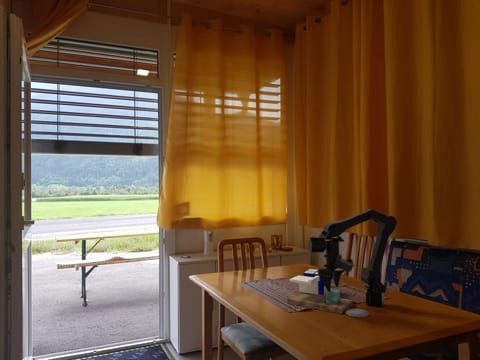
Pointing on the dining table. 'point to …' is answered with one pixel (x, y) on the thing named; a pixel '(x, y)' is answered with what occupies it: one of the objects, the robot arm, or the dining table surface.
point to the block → (333, 297)
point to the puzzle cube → (321, 285)
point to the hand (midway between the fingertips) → (333, 289)
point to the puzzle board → (319, 302)
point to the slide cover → (307, 284)
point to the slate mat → (356, 312)
